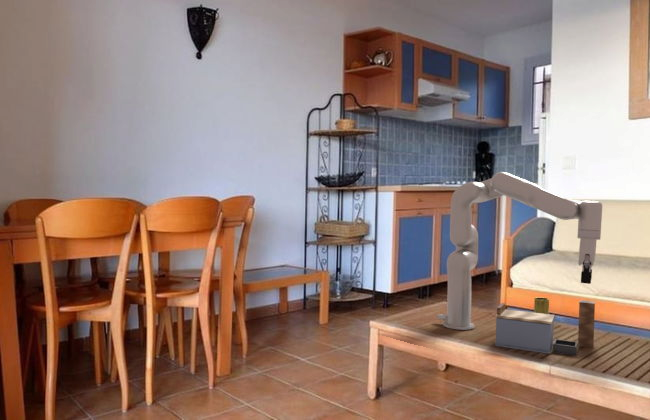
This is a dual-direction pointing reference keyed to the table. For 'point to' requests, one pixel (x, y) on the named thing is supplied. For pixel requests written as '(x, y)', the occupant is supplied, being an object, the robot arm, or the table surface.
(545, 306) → the vase
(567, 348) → the socket
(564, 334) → the table surface
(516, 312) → the lid
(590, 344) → the brown wooden block
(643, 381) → the table surface
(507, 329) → the toolbox
